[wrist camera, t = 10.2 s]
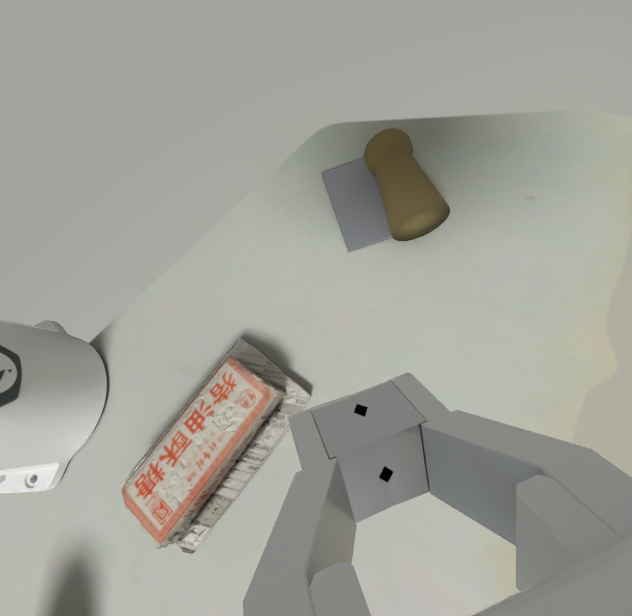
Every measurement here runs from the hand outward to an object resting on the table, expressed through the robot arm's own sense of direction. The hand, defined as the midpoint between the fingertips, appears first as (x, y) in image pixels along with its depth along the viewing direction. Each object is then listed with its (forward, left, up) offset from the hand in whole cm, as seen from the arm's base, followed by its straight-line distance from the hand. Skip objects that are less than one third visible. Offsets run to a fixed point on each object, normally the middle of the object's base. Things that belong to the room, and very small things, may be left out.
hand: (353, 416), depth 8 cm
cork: (+11, +16, -23) cm, 30 cm away
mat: (+8, +23, -26) cm, 35 cm away
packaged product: (-15, +2, -27) cm, 31 cm away
